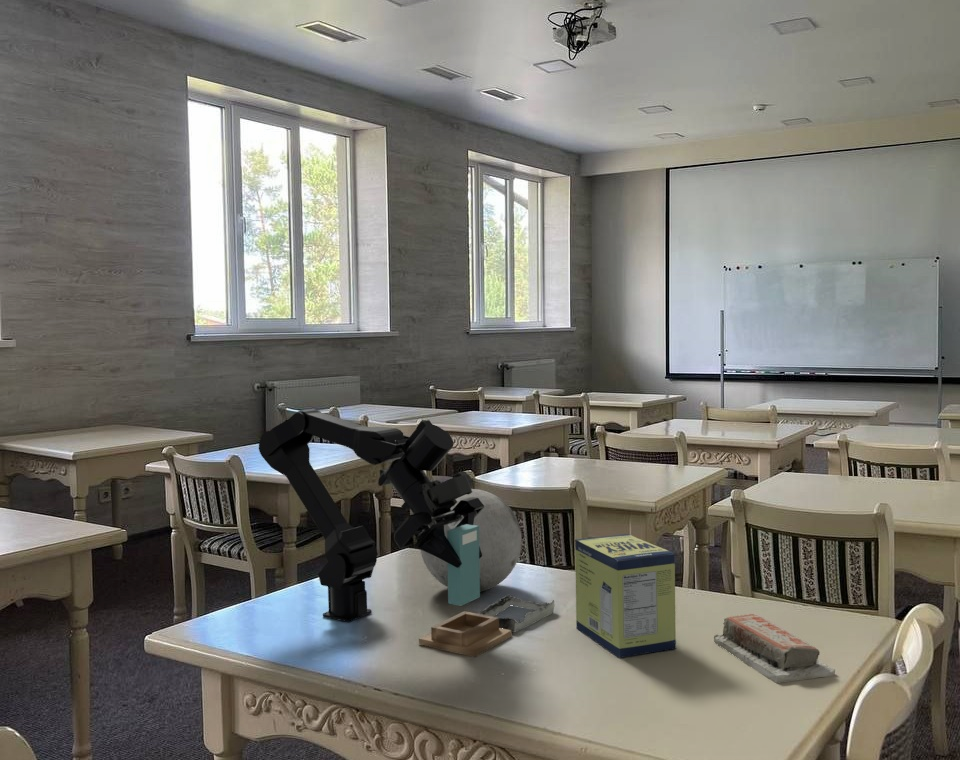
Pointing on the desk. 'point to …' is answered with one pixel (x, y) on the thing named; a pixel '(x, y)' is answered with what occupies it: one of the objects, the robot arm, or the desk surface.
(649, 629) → the protein box
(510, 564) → the moon model
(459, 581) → the teal labeled box
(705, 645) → the desk surface
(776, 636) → the packaged product
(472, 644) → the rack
